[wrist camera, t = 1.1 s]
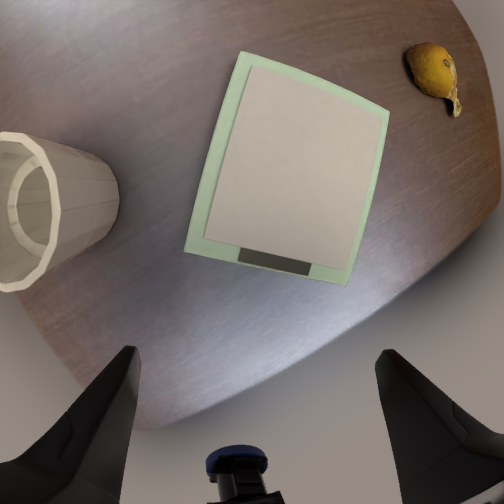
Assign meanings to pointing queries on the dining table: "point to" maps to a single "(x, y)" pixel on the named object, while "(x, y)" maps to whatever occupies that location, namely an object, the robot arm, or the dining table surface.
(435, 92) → the fruit
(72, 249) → the cream faceted cup
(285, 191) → the scale
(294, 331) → the dining table surface
